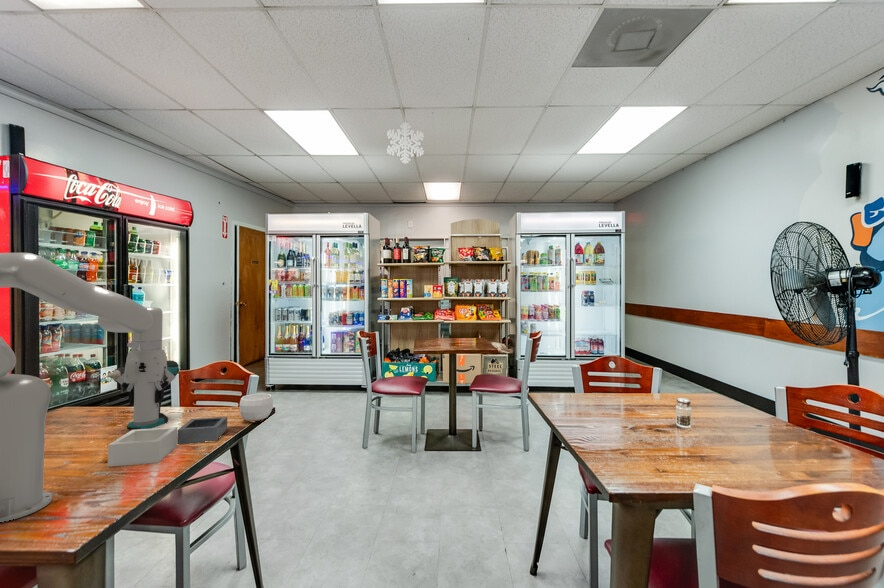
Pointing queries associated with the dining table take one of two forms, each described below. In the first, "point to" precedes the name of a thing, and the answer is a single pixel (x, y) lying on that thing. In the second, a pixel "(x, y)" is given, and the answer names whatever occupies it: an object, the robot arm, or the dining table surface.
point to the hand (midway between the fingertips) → (146, 402)
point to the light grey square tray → (142, 446)
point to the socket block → (202, 430)
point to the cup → (256, 406)
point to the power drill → (163, 419)
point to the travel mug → (145, 400)
